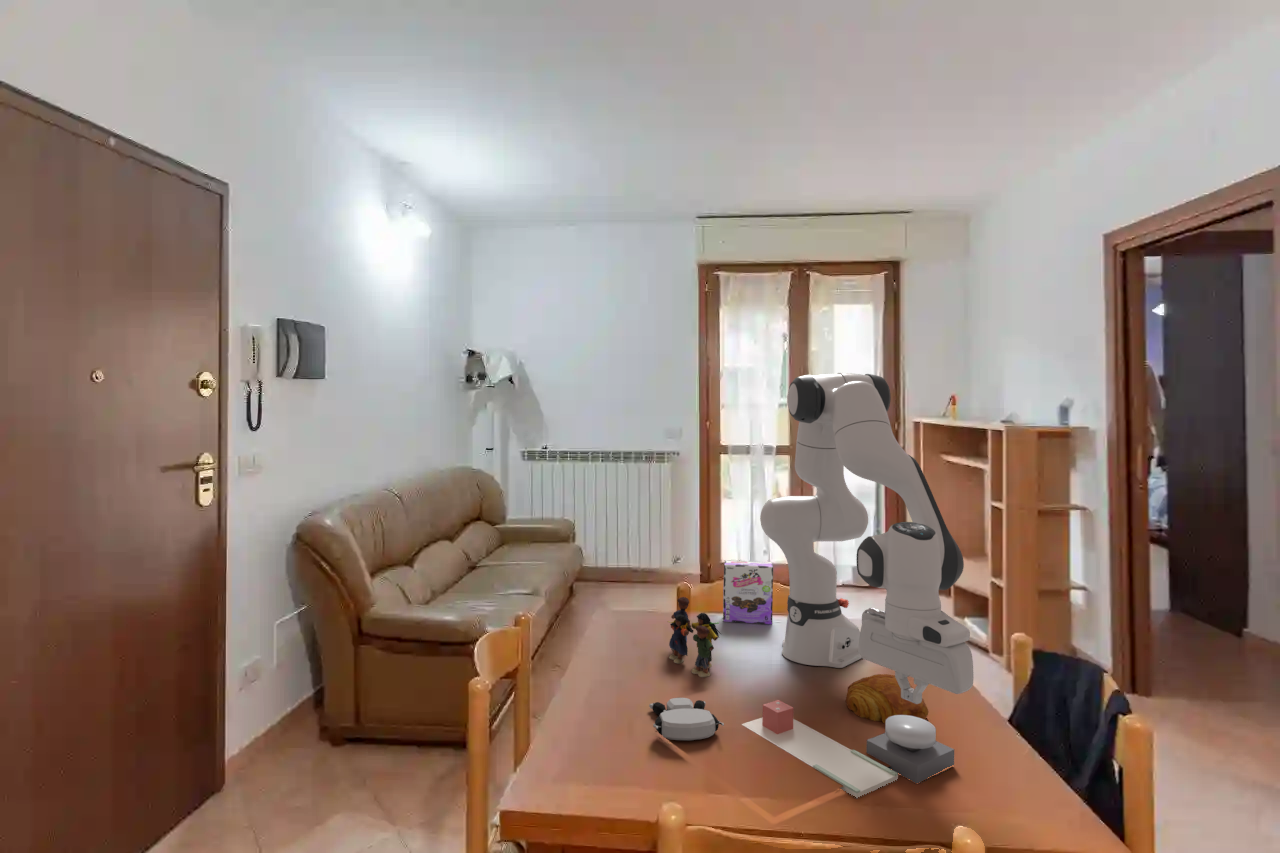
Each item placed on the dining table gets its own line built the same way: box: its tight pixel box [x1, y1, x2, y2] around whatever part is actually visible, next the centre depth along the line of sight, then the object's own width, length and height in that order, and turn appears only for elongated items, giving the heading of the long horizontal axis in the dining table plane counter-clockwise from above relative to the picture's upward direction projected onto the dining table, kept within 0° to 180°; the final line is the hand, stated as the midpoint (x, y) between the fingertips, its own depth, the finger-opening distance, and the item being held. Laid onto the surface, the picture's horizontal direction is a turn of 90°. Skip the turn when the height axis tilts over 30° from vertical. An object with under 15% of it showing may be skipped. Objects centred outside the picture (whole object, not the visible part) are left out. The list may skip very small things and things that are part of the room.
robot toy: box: [648, 697, 725, 741], centre depth 128 cm, size 12×4×15 cm
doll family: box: [667, 596, 723, 678], centre depth 163 cm, size 23×9×13 cm, turn 35°
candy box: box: [722, 559, 774, 625], centre depth 193 cm, size 14×6×16 cm, turn 81°
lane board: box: [740, 717, 899, 799], centre depth 119 cm, size 13×27×1 cm, turn 33°
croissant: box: [845, 673, 929, 724], centre depth 135 cm, size 14×16×8 cm
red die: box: [761, 699, 795, 734], centre depth 128 cm, size 4×4×4 cm
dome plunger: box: [884, 715, 937, 753], centre depth 117 cm, size 8×8×4 cm
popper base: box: [866, 732, 955, 784], centre depth 117 cm, size 10×10×3 cm
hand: (911, 700), depth 116 cm, fingers closed
